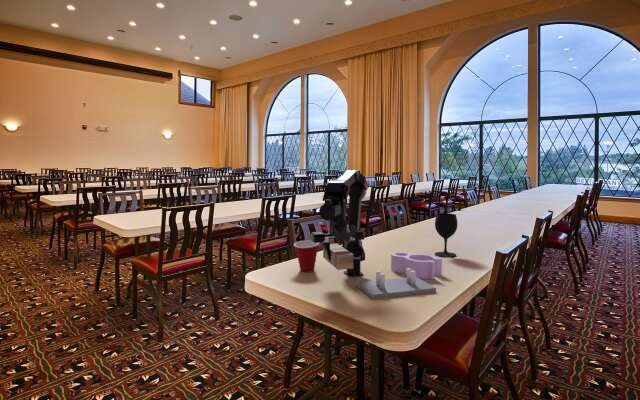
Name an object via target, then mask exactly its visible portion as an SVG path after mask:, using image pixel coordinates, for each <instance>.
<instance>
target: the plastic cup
mask: <svg viewBox="0 0 640 400" xmlns="http://www.w3.org/2000/svg"><path fill="white" fill-rule="evenodd" d="M319 245H320V243H314V242H312V241H311V240H310V239H308V240H307V239H306V240H299V241H296V242H294V243H293V247H294V248H295V251H296V255H297V260H298V265H299V270H300V271H301V272H304V273H310V272H314V270H315V267H316V263H317V262H316V261H317V255H318V248H319Z"/></svg>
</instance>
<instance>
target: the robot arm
mask: <svg viewBox="0 0 640 400" xmlns="http://www.w3.org/2000/svg"><path fill="white" fill-rule="evenodd" d="M368 187H369V183H368V180H367V178H366V176H364V175H362V174H361V173H360V172H359V171H358V170H355V169H352V170H350V169H349V170H345V172H344V173H343V175H341V176H339V178H337V179H331V180H329V181H327V183H326V184H325V188H324V192H323V196H322V202H324V203H323V204H322V205H320V208H319V209H318V210H319V211H318V212H319V216H320V218H321V219H323V220H324V221H328V225H329V229H328V233H323V232H322V231H313V232H311V233H310V236H309V240H311V241H312V242H314V243H319V244H321V245H322V248H323V247H324V249H325V251H326V254H327V257H328V259H329V261H330V260H331V253H330V244H331V242H330V241H329V240H333V239H334V240H336V241H338V242H342V245H341V246H342V247H343V248H345V249H346V250H348V251H349V252H351V253H352V254H353V269H346V270H344V271H343V273H344V274H345V275H346V276H348V277H357V276H364V273H363V272H362V270H361V267H362V265H361V262H364V261H366V252H365V248H364V246H363V240H365V233H364V231H362V230H360V227H361V224H360V223H361V213H362V212H361V211H362V201H363V200H364V199H365V196H366V195H367V190H368ZM348 198H349V200H350V201H349V212H348V222H347V219H346V202H347V201H346V200H348Z"/></svg>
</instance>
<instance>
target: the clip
mask: <svg viewBox="0 0 640 400" xmlns="http://www.w3.org/2000/svg"><path fill="white" fill-rule="evenodd" d="M390 257H391V258H390V270H391V271H392V272H394V273H397V274H398V273H401V274H405V275H406V269H407V268H410V269H412V271H416V277H417V278H419V279H430V280H435V278H436V277H435V276H436V275H441V276H442V275H443V274H442V271H443V269H442V268H443V259H442V258H443V257H437V256H436V255H435V256H434V255H431V254H424V253H409V252H405V251H396V252H395V253H390Z"/></svg>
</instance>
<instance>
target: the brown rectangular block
mask: <svg viewBox="0 0 640 400" xmlns="http://www.w3.org/2000/svg"><path fill="white" fill-rule="evenodd" d="M330 253H331V260H330V261H329V259H328V257H327V254H326V251H325V249H324V247H323V246H322V255H323V256H322V257H323V258H324V259H325V261H327V262H328V263H329V264H331V266H333V268H335V270H337V271H340V270H347V269H353V254H352V253H351V252H349V251H348V250H346V249H345V248H343V247H342V245H340V244H339V243H330Z"/></svg>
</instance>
